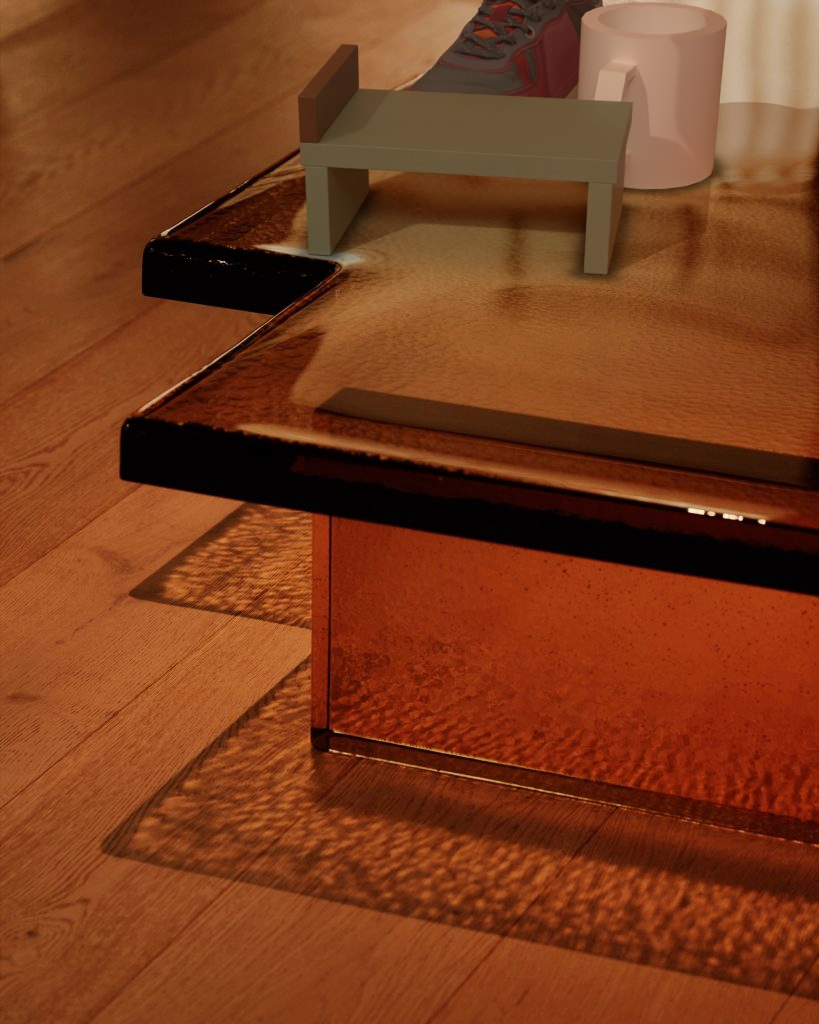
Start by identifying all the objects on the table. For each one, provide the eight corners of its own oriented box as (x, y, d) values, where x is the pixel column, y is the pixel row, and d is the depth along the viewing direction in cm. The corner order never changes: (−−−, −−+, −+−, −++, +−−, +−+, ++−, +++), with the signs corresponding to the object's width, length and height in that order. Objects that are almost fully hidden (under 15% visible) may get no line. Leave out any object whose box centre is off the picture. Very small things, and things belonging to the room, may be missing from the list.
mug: (676, 213, 111) (689, 58, 105) (538, 192, 114) (543, 42, 109) (729, 153, 121) (743, 10, 116) (600, 136, 125) (608, -4, 119)
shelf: (626, 208, 112) (635, 57, 106) (611, 275, 101) (621, 112, 96) (345, 191, 115) (341, 43, 109) (304, 254, 105) (297, 95, 99)
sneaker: (373, 159, 121) (370, -3, 114) (525, 64, 142) (529, -78, 136) (497, 180, 116) (500, 13, 110) (633, 78, 138) (643, -67, 132)
